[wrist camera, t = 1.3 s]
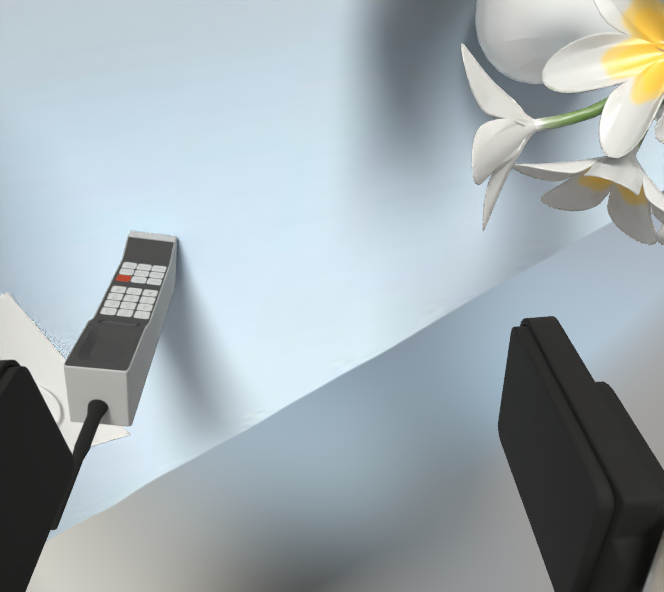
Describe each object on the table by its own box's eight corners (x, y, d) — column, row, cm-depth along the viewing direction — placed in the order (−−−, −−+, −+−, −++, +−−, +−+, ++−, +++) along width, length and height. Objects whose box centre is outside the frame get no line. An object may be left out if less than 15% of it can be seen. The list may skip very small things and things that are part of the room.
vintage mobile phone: (177, 234, 47) (85, 493, 26) (176, 283, 50) (91, 552, 29) (131, 228, 46) (-1, 488, 26) (132, 278, 49) (15, 549, 29)
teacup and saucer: (6, 440, 60) (-11, 472, 57) (-47, 390, 55) (-69, 421, 52) (78, 418, 59) (65, 449, 55) (29, 365, 54) (12, 395, 51)
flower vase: (361, -21, 37) (440, 82, 16) (650, -181, 33) (1227, -306, 12) (429, 151, 44) (544, 373, 23) (675, 36, 40) (1069, 184, 19)
